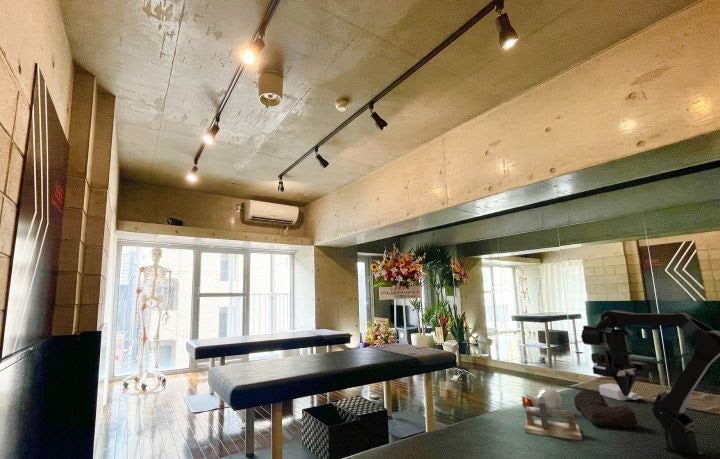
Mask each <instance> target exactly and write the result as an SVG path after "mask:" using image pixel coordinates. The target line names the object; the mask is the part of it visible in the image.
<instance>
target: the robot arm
mask: <svg viewBox="0 0 720 459" xmlns="http://www.w3.org/2000/svg"><path fill="white" fill-rule="evenodd" d="M628 326H663V327H664V326H667V327H668V326H669V327H670V326H671V327H674V326H675V327H678V328H679V329H681V330H682V331H683V332H684V333H685V334H686V335H687V336H689V337H690V338H691V339H693V340H694V341H695V342H694V346H693V355H692V357H691V358H690V360H689V361H688V362H687V363H686V366H685V367H684V369H683V371H682V372H681V374H680V375H679V377H678V379H677V380H676V382H675V383H674V385H673V386H672V388H671V390H670V391H669V392H667V391H662V392H660V393H658V394H657V396H656V398H655V401H654V402H652V403H650V404H651V406H652V410H651V412H652V414H653V416H654V418H656V420H658V422H659V423H660V425H661V427H662V428H663V435H664V439H665V444H666V446H663V448H664V450H667V451H670V452H672V453H675V454H678V455H680V456H683V457H685V458H692V457H693V458H694V457H698V456H703V455H704V453H703V452H702V451H700V450H699V448H698V443H697V437H696V432H695V431H692V429H694V428H695V425H696V421H695V420H693V419H692V418H691V417H690V416H689V415H687V413H686V412H685V411H686V409H687V403H688V399H689V398H690V396H691V395H692V393H693V392H694V390H695V388H696V387H697V386H698V384H699V383H700V381H701V380H702V378H703V377H704V375H705V374H706V372H707V371H708V369H709V368H710V366H711V365H712V363H714V362H715V361H716V360H717V359H718V358H720V330H714V328H712V327H711V326H708V325H707V324H705V323H703V322H701V321H699V320H697V319H696V318H694V317H692V316H691V315H690V314H688V313H686V312H677V313H674V312H673V313H669V312H668V313H658V312H657V313H642V312H641V313H640V312H639V313H636V312H629V311H626V310H625V311H624V310H619V309H617V310H616V309H613V310H612V309H611V310H606V311H605V310H604V311H603V312H602V313H601V314H600V320H599V322H598V323H597V324H596V326H593V325H592V326H591V325H583V326H582V331H581V335H580V337H581V340H582V343H583V344H584V345H589V346H599V347H604V346H605V344H607V349H605V351H604V354H600V353H598V352H596V353H591V354H590V355H591V357H590V358H591V361H592V363H593V364H594V365H593V367H592V372H593V374H594V375H597V376H603V377H606V378H612V379H613V380H614V381H615V382H616V385H618V386H619V388H620V390H621V391H622V393H623V395H624V396H629V393H630V391H631V388H632V389H633V386H634V384H635V381H636V380H637V378H638V377H639V376H640V375H639V374H636V373H635V371H641V372H642V373H644V374H651V373H652V368H651V366H650V365H649V364H648V363H647V362H646V363H645V362H640V361H632V360H631V355H633V351H631V350H630V349H629V344H628V338H627V336H631V335H634V332H633V331H632V330H630V329H629V328H628ZM619 328H621V329H619ZM606 330H607V331H606ZM609 330H610V331H609Z"/></svg>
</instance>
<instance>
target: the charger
mask: <svg viewBox="0 0 720 459" xmlns="http://www.w3.org/2000/svg"><path fill="white" fill-rule="evenodd" d="M598 389H599V393H600V394H601V395H602V396H603V397H604V398H605V397H606V398H610V399H614V400H617V401H628V400H634V401H637V400H640V399H643V398H644V397H643V396H641V395H640V394H639V393H636V392H634V389H633V387H632V388H631V391H630V393H629V396H624V395H623V393H622V391H621V390H620V388H619V386H618V384H617V383H604V384H600V385H599V386H598Z"/></svg>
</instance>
